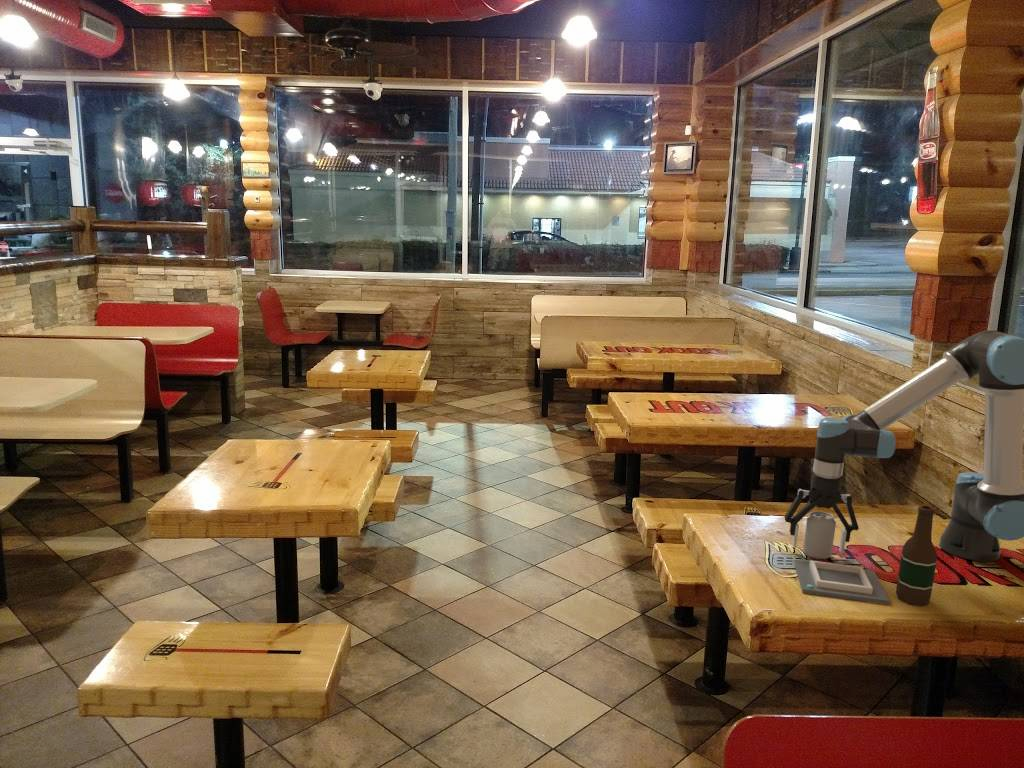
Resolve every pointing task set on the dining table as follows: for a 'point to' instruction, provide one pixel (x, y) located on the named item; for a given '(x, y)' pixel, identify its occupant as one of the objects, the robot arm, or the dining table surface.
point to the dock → (840, 581)
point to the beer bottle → (918, 562)
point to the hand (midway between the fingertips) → (817, 549)
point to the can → (819, 535)
